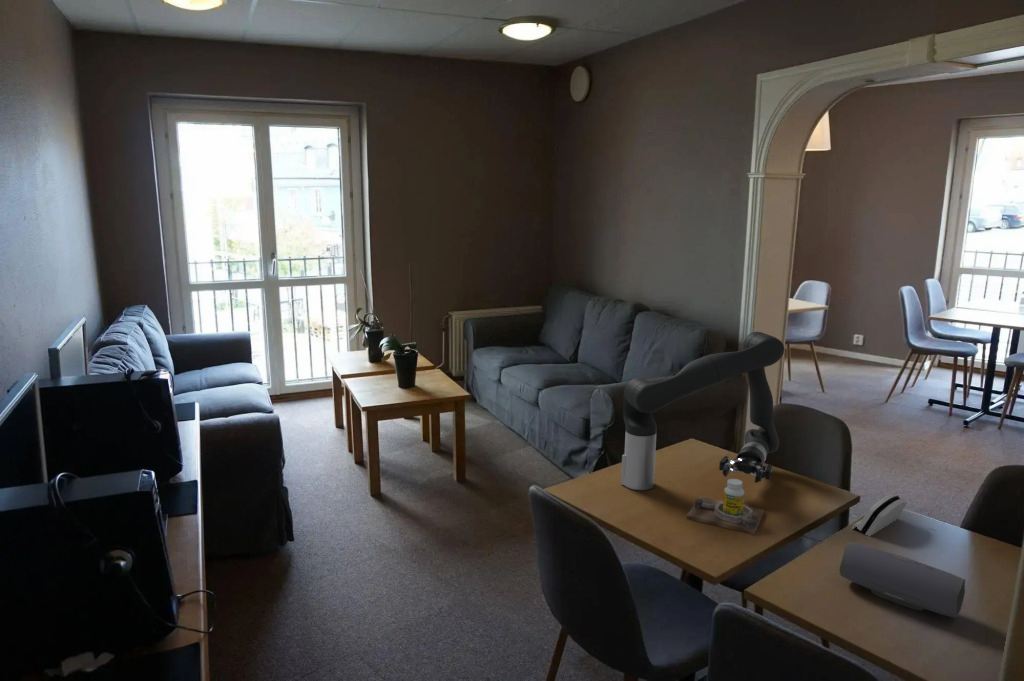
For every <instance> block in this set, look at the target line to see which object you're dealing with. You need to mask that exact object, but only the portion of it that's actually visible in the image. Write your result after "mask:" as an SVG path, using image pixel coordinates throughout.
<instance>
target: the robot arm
mask: <svg viewBox="0 0 1024 681" xmlns="http://www.w3.org/2000/svg"><path fill="white" fill-rule="evenodd" d="M744 338H745V339H744V340H743V345H742V350H737V351H728V352H726V351H725V352H716V353H711V354H707V355H705V356H702V357H699V358H697V359H696V358H695V360H692V361H690V362H689V363H687V364H685V365H684V366H683V367H682V368H681V369H680V370H679V371H678V372H677V373H676V374H675V375H673V376H671V377H670V378H666V379H664V380H661V381H657V382H651V381H649V380H648V379H646V378H644V377H635V378H633V379H631V380H629V381H628V383H627V384H626V386H625V388H624V392H623V421H624V424H625V433H624V434H625V438H624V453H623V454H622V456H621V476H620V477H621V478H620V484H621V485H622V486H625V487H626V488H627V489H630V490H633V491H634V490H635V491H647V490H648V491H649V490H651V489H652V488H654V484H655V466H656V450H657V449H656V448H657V431H658V430H657V429H658V428H657V423H656V421H655V418H654V416H653V413H655V412H657V411H659V410H661V409H663V408H665V407H667V406H668V405H670V404H672V403H674V402H677V401H678V400H680V399H683V398H685V397H688V396H691V395H693V394H695V393H698V392H701V391H703V390H705V389H708V388H711V387H713V386H716V385H718V384H721V383H722V382H725V381H727V380H731V379H733V378H735V377H738V376H740V375H743V374H745V373H746V376H747V381H748V390H749V420H750V423H751V424H753V425H754V426H757V427H761V428H762V429H757V428H751V429H748V430H747V431H745V434H744V446H743V447H742V448H741V449H740V451H739V452H738V454H737V455H736V457H735V458H733V459H729V456H728V455H725V456H723V457H722V458H721V459H720V461H719V467H718V469H719V471H722V472H721V474H722V475H723V477H726V478H727V477H728V475H729V474H730V473H734V474H735V473H739V472H740V473H744V474H747V475H752V476H753V477H754V483H757V484H758V483H761V482H762V480H764V479H766V480H767V481H770V480H771V476H772V473H773V464H770V463H769V464H767V465H764V464H765V463H766V459H767V456H768V454H769V453H770V454H774V453H775V452H777V451H778V449H779V446H780V439H779V435H778V432H777V429H776V426H775V421H774V397H773V394H772V391H771V387H770V384H769V382H768V379H767V376H766V370H765V369H766V368H767V367H771V366H772V365H774V364H776V363H778V362H779V361H780V360H781V358H782V357H783V355H784V353H785V345H784V344H783V342H782V341H781V339H779V338H777V337H776V336H772V335H770V334H768V333H764V332H761V331H752V332H751V333H749V334H748V335H746V336H745V337H744Z"/></svg>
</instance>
